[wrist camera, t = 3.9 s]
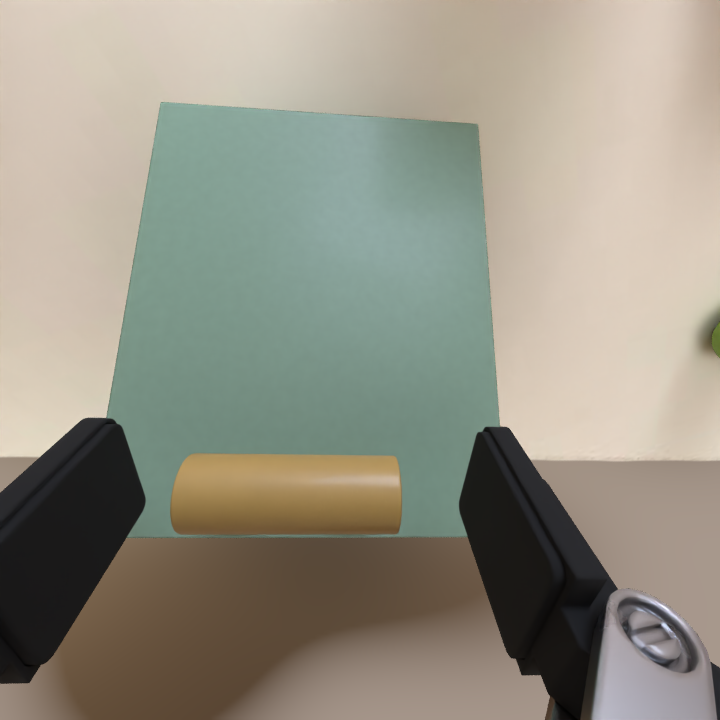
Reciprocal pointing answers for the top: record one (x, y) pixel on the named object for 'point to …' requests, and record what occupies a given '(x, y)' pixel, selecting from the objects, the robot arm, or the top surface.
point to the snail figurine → (716, 339)
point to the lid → (306, 326)
